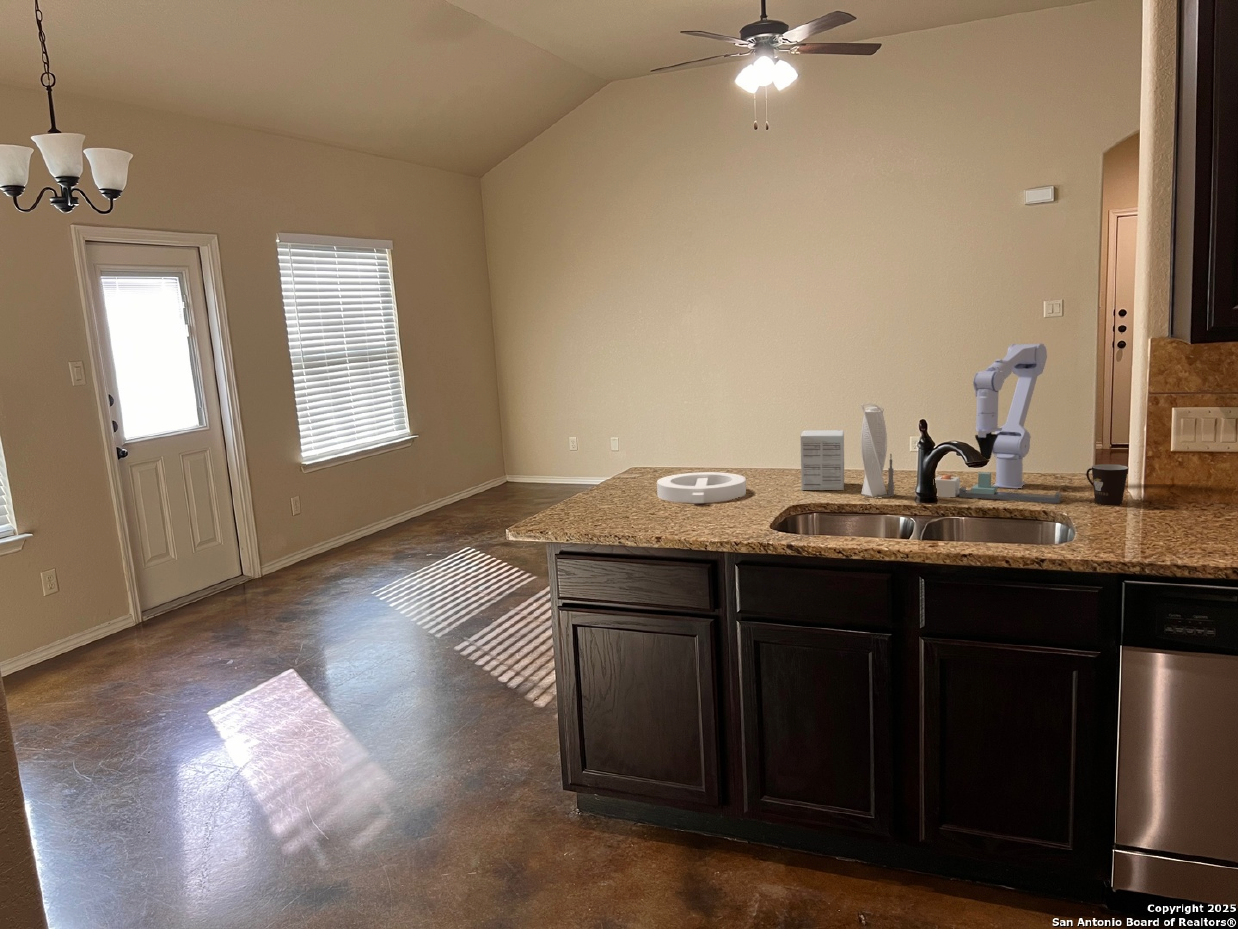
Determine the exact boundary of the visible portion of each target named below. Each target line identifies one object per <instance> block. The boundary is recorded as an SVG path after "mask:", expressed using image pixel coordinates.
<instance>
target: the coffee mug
mask: <svg viewBox="0 0 1238 929" xmlns="http://www.w3.org/2000/svg"><path fill="white" fill-rule="evenodd" d="M1090 471H1091V474H1092V480H1091V477H1090V474H1089V473H1090ZM1128 472H1129V467H1128V466H1126V465H1121V464H1111V463H1110V464H1109V463H1107V464H1100V463H1099V464H1095V465H1094V464H1093V465H1091V467H1089V468H1088V469H1087V470H1086V473H1085V475H1086V478H1087V480H1088V482H1089V483H1090V485H1091V486H1092V487H1093V495H1094V504H1096V503H1097V504H1096V505H1099V504H1101V505H1100V506H1105V505H1118V506H1121V505H1120V504H1123V501H1124V494H1125V490H1126V483H1127V477H1128Z"/></svg>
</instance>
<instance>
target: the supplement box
mask: <svg viewBox="0 0 1238 929" xmlns="http://www.w3.org/2000/svg"><path fill="white" fill-rule="evenodd" d="M799 440H800V475H801V477H800V481H801V482H800V483H801V484H800V485H801V486H800V487H801V488H800V491H803V490H843V491H844V488H845V430H844V429H828V430H827V429H825V430H823V429H821V430H820V429H819V430H814V429H813V430H803V431H802V432H801V435H800V439H799Z"/></svg>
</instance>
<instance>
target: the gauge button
mask: <svg viewBox="0 0 1238 929" xmlns="http://www.w3.org/2000/svg"><path fill="white" fill-rule="evenodd" d="M941 476H942V479H948V480H951V477H952V475H950V474H942V475H941Z"/></svg>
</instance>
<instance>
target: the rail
mask: <svg viewBox="0 0 1238 929" xmlns="http://www.w3.org/2000/svg"><path fill="white" fill-rule="evenodd" d="M958 497H959V498H961V497H963V498H964V499H965V498H966V499H977V498H981V500H993V499H998V501H1009V500H1021V501H1020V502H1025V501H1033V502H1032V503H1040V502H1043V503H1044V504H1056V503H1058V504H1060V503H1061V500H1062V499H1061V497H1062V491H1056V492H1055V494H1041V493H1024V492H1023V493H1022V492H1005V491H996V493H995V494H979V493H971V489H967V486H961V487H959V495H958ZM999 499H1000V500H999Z"/></svg>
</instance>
